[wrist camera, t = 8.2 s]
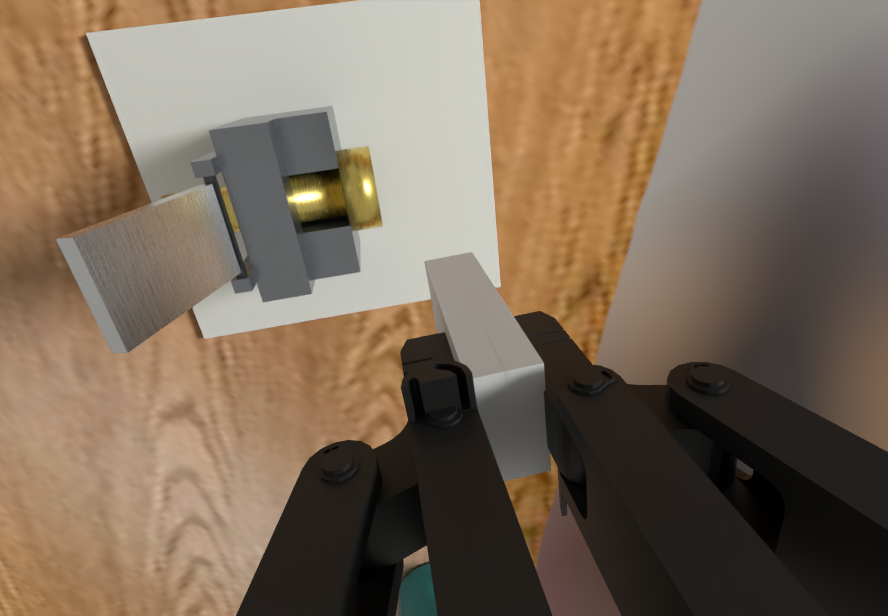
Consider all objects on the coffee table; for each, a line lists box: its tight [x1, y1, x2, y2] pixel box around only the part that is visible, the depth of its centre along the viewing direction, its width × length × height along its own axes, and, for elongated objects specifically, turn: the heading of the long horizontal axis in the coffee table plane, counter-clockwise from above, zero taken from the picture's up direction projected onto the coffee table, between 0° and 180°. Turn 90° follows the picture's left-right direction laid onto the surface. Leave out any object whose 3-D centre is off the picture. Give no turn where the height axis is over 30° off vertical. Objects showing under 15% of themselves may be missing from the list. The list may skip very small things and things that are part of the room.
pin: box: [161, 146, 383, 233], centre depth 31 cm, size 13×5×5 cm, turn 97°
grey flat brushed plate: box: [56, 184, 241, 353], centre depth 23 cm, size 1×5×8 cm, turn 7°
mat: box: [86, 0, 501, 339], centre depth 36 cm, size 22×25×1 cm
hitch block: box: [190, 106, 361, 302], centre depth 31 cm, size 7×10×10 cm
